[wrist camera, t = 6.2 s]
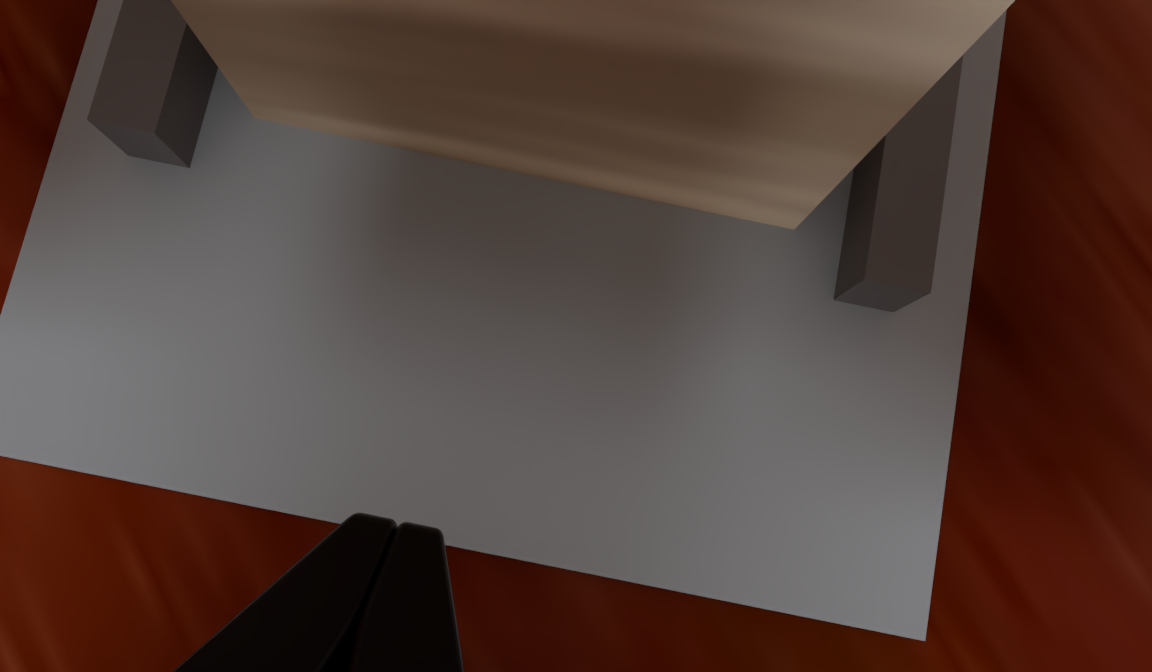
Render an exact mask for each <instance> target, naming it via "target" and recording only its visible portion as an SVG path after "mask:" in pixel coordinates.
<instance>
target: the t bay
mask: <svg viewBox="0 0 1152 672" xmlns="http://www.w3.org/2000/svg"><path fill="white" fill-rule="evenodd" d="M1006 11H1007V10H1006ZM1006 11H1005V12H1004V13H1003V14H1002V15H1001V16H1000V17H999V18H998V19H997V20H996V21H995V22H994V23H993V24H992V25H991V26H990V27H989V28H988V29H987V30H986V31H985V32H984V33H983V34H982V35H981V36H980V38H979V39H978V40H977V41H976V42H975V43H974V44H973V45H972V46H971V47H970V48H969V49H968V50H967V51H966V52H965V53H964V54H963V55H962V56H961V57H960V58H959V59H958V60H957V61H956V62H955V63H954V64H953V66H952V67H951V68H950V69H949V70H948V71H947V72H946V73H945V74H944V75H943V76H942V77H941V78H940V79H939V80H938V81H937V82H936V83H935V84H934V85H933V86H932V87H931V88H930V89H929V90H928V91H927V92H926V94H925V95H924V96H923V97H922V98H921V99H920V100H919V101H918V102H917V103H916V104H915V105H914V106H913V107H912V108H911V109H910V110H909V111H908V112H907V113H906V114H905V115H904V116H903V117H902V118H901V119H900V120H899V122H898V123H897V124H896V125H895V126H894V127H893V128H892V129H891V130H890V131H889V132H888V133H887V134H886V135H885V136H884V137H883V138H882V139H881V140H880V141H879V142H878V143H877V144H876V145H875V146H874V147H873V148H872V150H871V151H870V152H869V153H868V154H867V155H866V156H865V157H864V158H863V159H862V160H861V161H860V162H859V163H858V164H857V165H856V166H855V167H854V168H853V169H852V170H851V171H850V172H849V173H848V174H847V175H846V176H845V177H844V179H843V180H842V181H841V182H840V183H839V184H838V185H837V186H836V187H835V188H834V189H833V190H832V191H831V192H830V193H829V194H828V195H827V196H826V197H825V198H824V199H823V200H822V201H821V202H820V203H819V204H818V205H817V207H816V208H815V209H814V210H813V211H812V212H811V213H810V214H809V215H808V216H807V217H806V218H805V219H804V220H803V221H802V222H801V223H800V224H799V225H798V226H797V227H796V228H795V229H794V230H793V229H788V228H783V227H779V226H774V225H769V224H764V223H759V222H754V221H750V220H745V219H740V218H735V217H730V216H726V215H721V214H716V213H711V212H706V211H701V210H697V209H692V208H687V207H682V206H677V205H673V204H668V203H663V202H658V201H653V200H648V199H644V198H639V197H634V196H629V195H624V194H620V193H615V192H610V191H605V190H600V189H595V188H591V187H586V186H581V185H576V184H571V183H567V182H562V181H557V180H552V179H547V178H542V177H538V176H533V175H528V174H523V173H518V172H513V171H509V170H504V169H499V168H494V167H489V166H485V165H480V164H475V163H470V162H465V161H460V160H456V159H451V158H446V157H441V156H436V155H432V154H427V153H422V152H417V151H412V150H407V149H403V148H398V147H393V146H388V145H383V144H379V143H374V142H369V141H364V140H359V139H354V138H350V137H345V136H340V135H335V134H330V133H326V132H321V131H316V130H311V129H306V128H301V127H297V126H292V125H287V124H282V123H277V122H273V121H268V120H263V119H258V118H254V117H253V115H252V114H251V113H250V111H249V110H248V108H247V107H246V106H245V104H244V103H243V101H242V100H241V99H240V97H239V96H238V94H237V93H236V92H235V90H234V89H233V87H232V86H231V84H230V83H229V82H228V80H227V79H226V77H225V76H224V75H223V73H222V72H221V70H220V69H219V68H218V66H217V65H216V63H215V62H214V61H213V59H212V58H211V56H210V55H209V53H208V52H207V51H206V49H205V48H204V46H203V45H202V44H201V42H200V41H199V39H198V38H197V37H196V35H195V34H194V32H193V31H192V30H191V28H190V27H189V25H188V24H187V22H186V21H185V20H184V18H183V17H182V15H181V14H180V13H179V11H178V10H177V8H176V7H175V6H174V4H173V3H172V1H171V0H98V2H97V5H96V8H95V12H94V15H93V18H92V21H91V25H90V28H89V31H88V34H87V38H86V41H85V44H84V47H83V50H82V54H81V57H80V60H79V63H78V67H77V70H76V73H75V76H74V80H73V83H72V86H71V89H70V92H69V96H68V99H67V102H66V105H65V109H64V112H63V115H62V118H61V122H60V125H59V128H58V131H57V135H56V138H55V141H54V144H53V147H52V151H51V154H50V157H49V160H48V164H47V167H46V170H45V173H44V177H43V180H42V183H41V186H40V189H39V193H38V196H37V199H36V202H35V206H34V209H33V212H32V215H31V219H30V222H29V225H28V228H27V231H26V235H25V238H24V241H23V244H22V248H21V251H20V254H19V257H18V261H17V264H16V267H15V270H14V273H13V277H12V280H11V283H10V286H9V290H8V293H7V296H6V299H5V303H4V306H3V309H2V312H1V315H0V456H4V457H9V458H14V459H19V460H24V461H29V462H34V463H39V464H44V465H49V466H54V467H59V468H64V469H69V470H74V471H79V472H84V473H89V474H94V475H99V476H104V477H109V478H114V479H119V480H124V481H129V482H134V483H139V484H144V485H149V486H154V487H159V488H164V489H169V490H174V491H179V492H184V493H189V494H194V495H199V496H204V497H209V498H214V499H219V500H224V501H229V502H234V503H239V504H244V505H249V506H254V507H259V508H264V509H269V510H274V511H279V512H284V513H289V514H294V515H299V516H304V517H309V518H314V519H319V520H324V521H329V522H334V523H339V524H341V523H342V522H343V521H345V520H346V519H347V518H348V517H349V516H351V515H352V514H355V513H366V514H370V515H375V516H380V517H385V518H390V519H393V520H394V521H395V522H396V523H397V526H399V525H400V524H401V523H403V522H410V523H415V524H420V525H425V526H430V527H435V528H438V529H440V530H441V531H442V533H443V536H444V542H445V545H448V546H453V547H458V548H463V549H468V550H473V551H478V552H483V553H488V554H493V555H498V556H503V557H508V558H513V559H518V560H523V561H528V562H533V563H538V564H543V565H548V566H553V567H558V568H563V569H568V570H573V571H578V572H583V573H588V574H593V575H598V576H603V577H608V578H613V579H618V580H623V581H628V582H633V583H638V584H643V585H648V586H653V587H658V588H663V589H668V590H673V591H678V592H683V593H688V594H693V595H698V596H703V597H708V598H713V599H718V600H723V601H728V602H733V603H738V604H743V605H748V606H753V607H758V608H763V609H768V610H772V611H777V612H782V613H787V614H792V615H797V616H802V617H807V618H812V619H817V620H822V621H827V622H832V623H837V624H842V625H847V626H852V627H857V628H862V629H867V630H872V631H877V632H882V633H887V634H892V635H897V636H902V637H907V638H912V639H917V640H922V641H925V638H926V631H927V623H928V615H929V607H930V600H931V592H932V584H933V576H934V569H935V561H936V553H937V545H938V538H939V530H940V522H941V514H942V507H943V499H944V491H945V483H946V476H947V468H948V460H949V452H950V445H951V437H952V429H953V421H954V414H955V406H956V398H957V390H958V383H959V375H960V367H961V359H962V352H963V344H964V336H965V328H966V321H967V313H968V305H969V297H970V290H971V282H972V274H973V266H974V259H975V251H976V243H977V235H978V228H979V220H980V212H981V204H982V197H983V189H984V181H985V173H986V166H987V158H988V150H989V142H990V135H991V127H992V119H993V111H994V104H995V96H996V88H997V80H998V73H999V65H1000V57H1001V49H1002V42H1003V34H1004V26H1005V18H1006Z"/></svg>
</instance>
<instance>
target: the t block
mask: <svg viewBox="0 0 1152 672" xmlns="http://www.w3.org/2000/svg"><path fill="white" fill-rule="evenodd" d="M171 1H172V3H173V4H174V6H175V7H176V8H177V10H178V11H179V13H180V14H181V15H182V17H183V18H184V20H185V21H186V22H187V24H188V25H189V27H190V28H191V30H192V31H193V32H194V34H195V35H196V37H197V38H198V39H199V41H200V42H201V44H202V45H203V46H204V48H205V49H206V51H207V52H208V53H209V55H210V56H211V58H212V59H213V61H214V62H215V63H216V65H217V66H218V68H219V69H220V70H221V72H222V73H223V75H224V76H225V77H226V79H227V80H228V82H229V83H230V84H231V86H232V87H233V89H234V90H235V92H236V93H237V94H238V96H239V97H240V99H241V100H242V101H243V103H244V104H245V106H246V107H247V108H248V110H249V111H250V113H251V114H252V115H253V117H254V118H258V119H263V120H268V121H273V122H277V123H282V124H287V125H292V126H297V127H301V128H306V129H311V130H316V131H321V132H326V133H330V134H335V135H340V136H345V137H350V138H354V139H359V140H364V141H369V142H374V143H379V144H383V145H388V146H393V147H398V148H403V149H407V150H412V151H417V152H422V153H427V154H432V155H436V156H441V157H446V158H451V159H456V160H460V161H465V162H470V163H475V164H480V165H485V166H489V167H494V168H499V169H504V170H509V171H513V172H518V173H523V174H528V175H533V176H538V177H542V178H547V179H552V180H557V181H562V182H567V183H571V184H576V185H581V186H586V187H591V188H595V189H600V190H605V191H610V192H615V193H620V194H624V195H629V196H634V197H639V198H644V199H648V200H653V201H658V202H663V203H668V204H673V205H677V206H682V207H687V208H692V209H697V210H701V211H706V212H711V213H716V214H721V215H726V216H730V217H735V218H740V219H745V220H750V221H754V222H759V223H764V224H769V225H774V226H779V227H783V228H788V229H793V230H794V229H795V228H796V227H797V226H798V225H799V224H800V223H801V222H802V221H803V220H804V219H805V218H806V217H807V216H808V215H809V214H810V213H811V212H812V211H813V210H814V209H815V208H816V207H817V205H818V204H819V203H820V202H821V201H822V200H823V199H824V198H825V197H826V196H827V195H828V194H829V193H830V192H831V191H832V190H833V189H834V188H835V187H836V186H837V185H838V184H839V183H840V182H841V181H842V180H843V179H844V177H845V176H846V175H847V174H848V173H849V172H850V171H851V170H852V169H853V168H854V167H855V166H856V165H857V164H858V163H859V162H860V161H861V160H862V159H863V158H864V157H865V156H866V155H867V154H868V153H869V152H870V151H871V150H872V148H873V147H874V146H875V145H876V144H877V143H878V142H879V141H880V140H881V139H882V138H883V137H884V136H885V135H886V134H887V133H888V132H889V131H890V130H891V129H892V128H893V127H894V126H895V125H896V124H897V123H898V122H899V120H900V119H901V118H902V117H903V116H904V115H905V114H906V113H907V112H908V111H909V110H910V109H911V108H912V107H913V106H914V105H915V104H916V103H917V102H918V101H919V100H920V99H921V98H922V97H923V96H924V95H925V94H926V92H927V91H928V90H929V89H930V88H931V87H932V86H933V85H934V84H935V83H936V82H937V81H938V80H939V79H940V78H941V77H942V76H943V75H944V74H945V73H946V72H947V71H948V70H949V69H950V68H951V67H952V66H953V64H954V63H955V62H956V61H957V60H958V59H959V58H960V57H961V56H962V55H963V54H964V53H965V52H966V51H967V50H968V49H969V48H970V47H971V46H972V45H973V44H974V43H975V42H976V41H977V40H978V39H979V38H980V36H981V35H982V34H983V33H984V32H985V31H986V30H987V29H988V28H989V27H990V26H991V25H992V24H993V23H994V22H995V21H996V20H997V19H998V18H999V17H1000V16H1001V15H1002V14H1003V13H1004V12H1005V11H1006V10H1007V8H1008V7H1009V6H1010V5H1011V4H1012V3H1013V2H1014V1H1015V0H171Z"/></svg>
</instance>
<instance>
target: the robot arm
mask: <svg viewBox="0 0 1152 672" xmlns="http://www.w3.org/2000/svg"><path fill="white" fill-rule="evenodd" d="M172 672H464V668H463V662H462V655H461V648H460V642H459V635H458V628H457V622H456V615H455V608H454V602H453V595H452V588H451V582H450V575H449V568H448V562H447V555H446V548H445V542H444V536H443V533H442V531H441V530H440V529H438V528H435V527H430V526H425V525H420V524H415V523H410V522H403V523H401V524H400V525H399V526H397V523H396V522H395V521H394V520H393V519H390V518H385V517H380V516H375V515H370V514H366V513H355V514H352V515H351V516H349V517H348V518H347V519H346V520H345V521H343V522H342V523H341V524H340V525H339V526H338V527H337V528H336V529H334V530H333V531H332V532H331V533H330V534H329V535H328V536H326V537H325V538H324V539H323V540H322V541H321V542H320V543H318V544H317V545H316V546H315V547H314V548H313V549H312V550H310V551H309V552H308V553H307V554H306V555H305V556H304V557H302V558H301V559H300V560H299V561H298V562H297V563H296V564H294V565H293V566H292V567H291V568H290V569H289V570H288V571H286V572H285V573H284V574H283V575H282V576H281V577H280V578H279V579H277V580H276V581H275V582H274V583H273V584H272V585H271V586H269V587H268V588H267V589H266V590H265V591H264V592H263V593H261V594H260V595H259V596H258V597H257V598H256V599H255V600H253V601H252V602H251V603H250V604H249V605H248V606H247V607H245V608H244V609H243V610H242V611H241V612H240V613H239V614H237V615H236V616H235V617H234V618H233V619H232V620H231V621H229V622H228V623H227V624H226V625H225V626H224V627H223V628H222V629H220V630H219V631H218V632H217V633H216V634H215V635H214V636H212V637H211V638H210V639H209V640H208V641H207V642H206V643H204V644H203V645H202V646H201V647H200V648H199V649H198V650H196V651H195V652H194V653H193V654H192V655H191V656H190V657H188V658H187V659H186V660H185V661H184V662H183V663H182V664H180V665H179V666H178V667H177V668H176V669H175V670H174V671H172Z"/></svg>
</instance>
